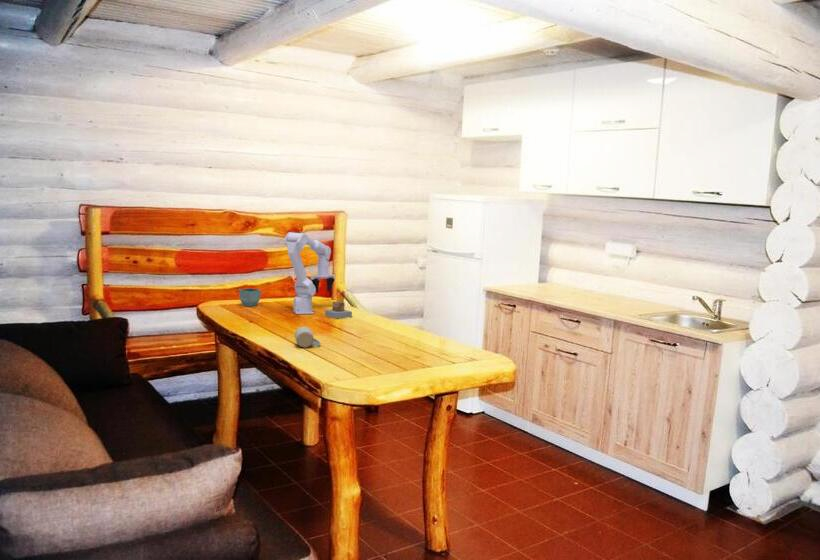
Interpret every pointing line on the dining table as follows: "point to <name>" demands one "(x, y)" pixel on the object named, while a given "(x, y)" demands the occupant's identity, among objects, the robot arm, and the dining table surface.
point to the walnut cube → (338, 306)
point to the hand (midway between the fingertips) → (322, 291)
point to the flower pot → (249, 296)
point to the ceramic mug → (305, 337)
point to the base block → (338, 314)
